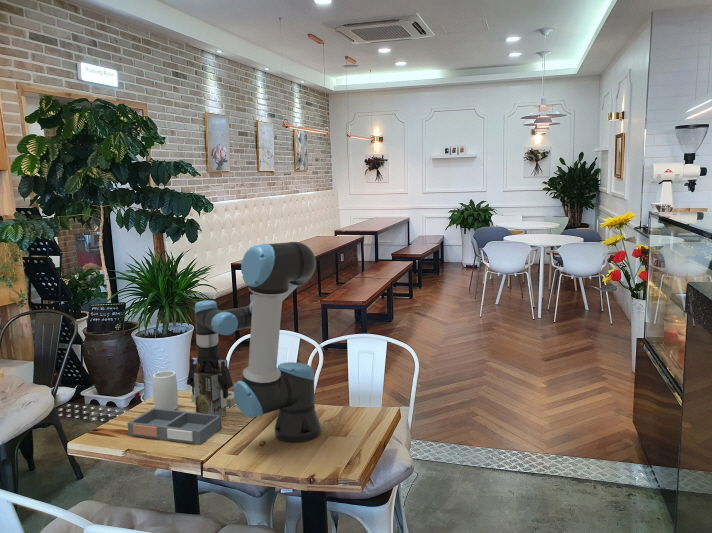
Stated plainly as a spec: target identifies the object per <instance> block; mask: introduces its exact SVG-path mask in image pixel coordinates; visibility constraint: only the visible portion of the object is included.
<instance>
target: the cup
mask: <svg viewBox="0 0 712 533" xmlns="http://www.w3.org/2000/svg"><path fill="white" fill-rule="evenodd" d="M178 392H179V391H178V379H177V373H176V372H175V371H173V370H160V371H158V372H155V373H154V374H153V375H152V397H153V404H154V405H153V406H154V407H153V408H158V409H167V410H177V409H178V408H179V407H178V404H179V402H178V400H179V399H178V398H179V396H178Z"/></svg>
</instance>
